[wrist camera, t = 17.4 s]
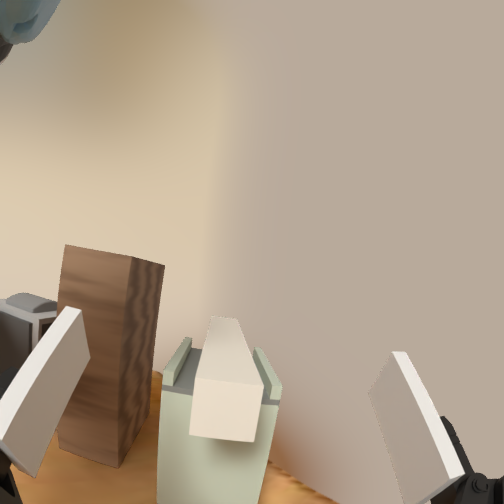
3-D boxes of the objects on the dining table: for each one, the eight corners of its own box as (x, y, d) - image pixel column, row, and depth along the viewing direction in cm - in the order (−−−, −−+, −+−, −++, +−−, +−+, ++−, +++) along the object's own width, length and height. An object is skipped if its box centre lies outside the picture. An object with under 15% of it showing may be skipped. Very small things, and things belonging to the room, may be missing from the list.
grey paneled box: (34, 369, 51) (38, 289, 53) (82, 387, 52) (86, 302, 54) (-17, 389, 33) (-19, 288, 35) (35, 418, 33) (33, 308, 35)
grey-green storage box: (246, 545, 20) (282, 385, 22) (157, 534, 19) (163, 369, 21) (238, 477, 34) (260, 347, 36) (173, 468, 33) (185, 336, 35)
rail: (253, 442, 14) (264, 385, 15) (188, 434, 14) (195, 377, 14) (233, 343, 42) (237, 318, 42) (208, 339, 42) (212, 315, 42)
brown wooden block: (118, 468, 29) (131, 256, 32) (59, 448, 29) (65, 244, 32) (149, 412, 49) (165, 265, 52) (105, 401, 48) (117, 257, 51)
